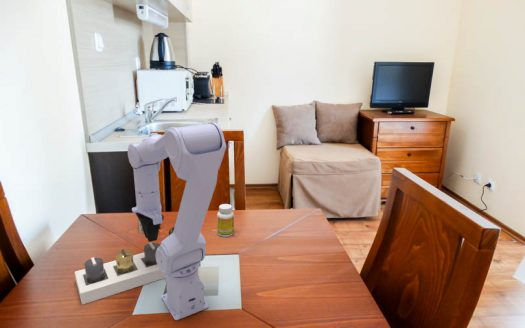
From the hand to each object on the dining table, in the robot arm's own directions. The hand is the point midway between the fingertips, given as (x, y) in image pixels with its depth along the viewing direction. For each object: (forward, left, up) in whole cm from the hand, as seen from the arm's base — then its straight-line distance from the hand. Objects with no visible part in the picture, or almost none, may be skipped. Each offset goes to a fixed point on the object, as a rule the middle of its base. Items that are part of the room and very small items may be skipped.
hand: (151, 238), depth 91 cm
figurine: (+24, -6, -10) cm, 27 cm away
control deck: (0, +7, -9) cm, 12 cm away
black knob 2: (0, 0, -7) cm, 7 cm away
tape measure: (+12, -13, -10) cm, 20 cm away
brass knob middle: (0, +7, -7) cm, 10 cm away
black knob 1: (0, +14, -7) cm, 16 cm away
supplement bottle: (+8, -26, -10) cm, 29 cm away
